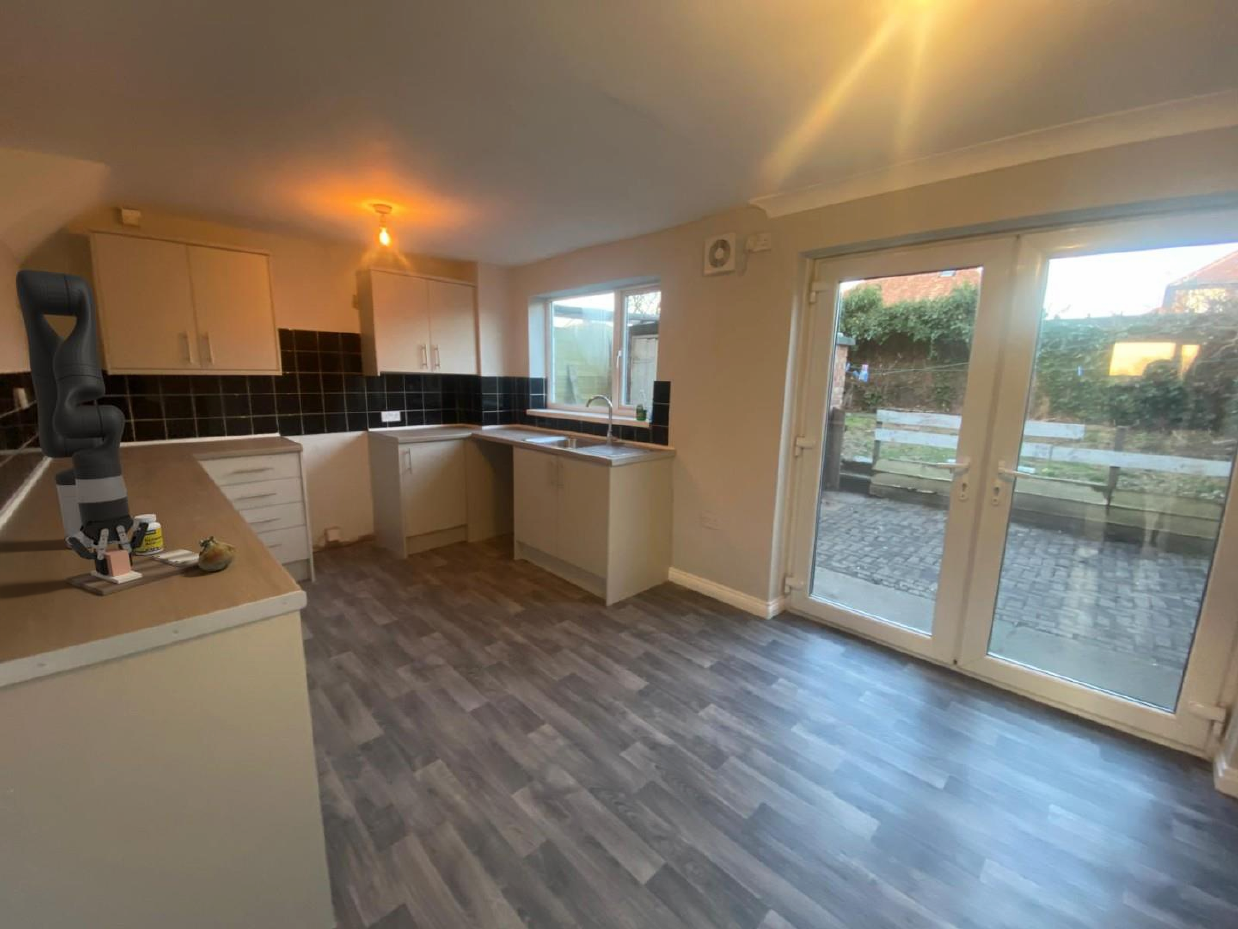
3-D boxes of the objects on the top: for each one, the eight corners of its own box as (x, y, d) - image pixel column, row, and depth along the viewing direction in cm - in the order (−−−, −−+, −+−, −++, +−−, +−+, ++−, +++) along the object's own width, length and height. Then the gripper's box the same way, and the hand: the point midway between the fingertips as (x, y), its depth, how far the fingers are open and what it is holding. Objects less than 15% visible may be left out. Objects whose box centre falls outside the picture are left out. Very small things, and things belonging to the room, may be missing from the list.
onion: (192, 578, 113) (187, 544, 112) (203, 566, 120) (199, 534, 119) (233, 573, 116) (228, 540, 115) (241, 561, 123) (238, 530, 122)
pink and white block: (90, 574, 111) (86, 550, 110) (114, 568, 115) (110, 545, 114) (118, 583, 107) (114, 558, 106) (141, 577, 110) (138, 552, 109)
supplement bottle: (146, 556, 126) (141, 519, 124) (130, 554, 127) (124, 518, 125) (169, 549, 131) (164, 514, 129) (153, 548, 132) (148, 512, 130)
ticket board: (67, 582, 109) (66, 574, 109) (176, 554, 128) (175, 547, 127) (104, 595, 103) (102, 587, 103) (213, 564, 121) (212, 556, 121)
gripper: (135, 489, 116) (146, 559, 118) (48, 502, 103) (63, 580, 106) (152, 492, 113) (163, 564, 116) (65, 506, 100) (80, 586, 103)
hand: (115, 571), depth 111 cm, fingers closed on pink and white block, 3 cm apart
